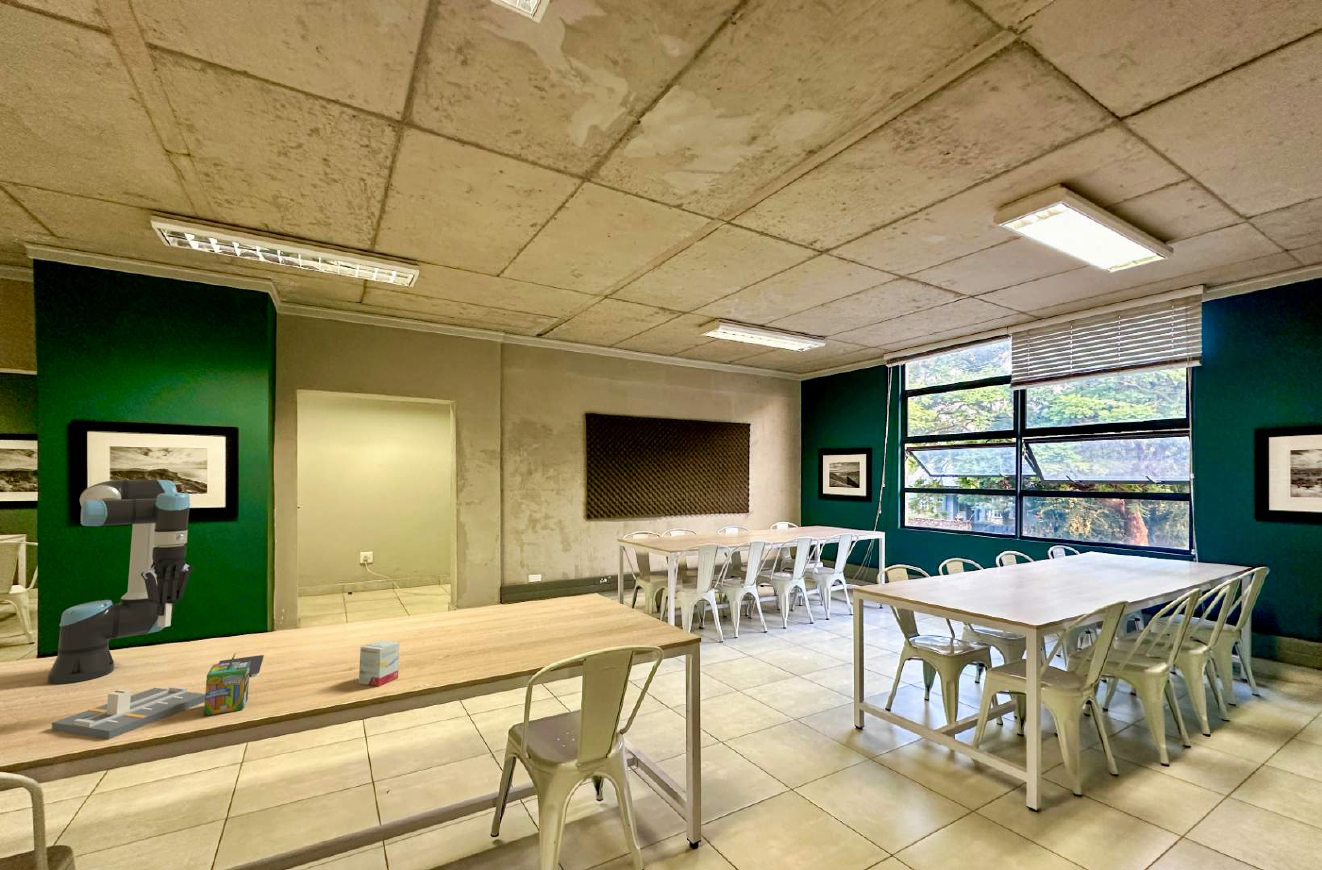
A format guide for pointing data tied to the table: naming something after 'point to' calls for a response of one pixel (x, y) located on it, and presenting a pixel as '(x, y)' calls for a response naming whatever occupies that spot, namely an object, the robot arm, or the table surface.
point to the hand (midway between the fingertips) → (164, 626)
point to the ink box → (379, 663)
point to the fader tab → (118, 702)
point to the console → (130, 713)
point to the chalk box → (227, 687)
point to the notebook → (254, 666)
